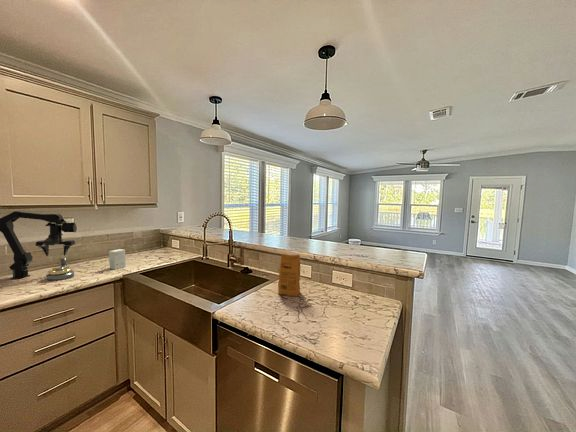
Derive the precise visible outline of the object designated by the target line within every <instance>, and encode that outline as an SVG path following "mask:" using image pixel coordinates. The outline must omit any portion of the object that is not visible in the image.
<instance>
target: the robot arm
mask: <svg viewBox="0 0 576 432" xmlns="http://www.w3.org/2000/svg"><path fill="white" fill-rule="evenodd" d="M20 218H21V219H31V220H40V221H44V222H47V224H44V225H45V227H49V234H48V235H47V236H48V237H47V238H45V239H43V240H37V241H35V245H34V246H35V247H37V248H40V249H41V250H42V251H43V253H44V254H45V255H46V257H48V256H49V253H50V250H49V249H50V248H49V247H50V246H55V245H63V247H62V248H63V256H66V255H67V253H68V251H69V249H70V248H71V247H72V246H73V245H76V241H75V240H74V239H67V240H65V241H64V239H63V238H62V237H63V233H76V232H77V224H76V222H67V221H66V220H65V219H64V217H63V215H62V214H61V213H38V212H27V211H21V210H17V211H16V210H15V211H13V212H10V213H9V214H6V215H4V216H2V217H0V232H1V233H2V236H3V237H4V238H5V241H6V242H7V244H8V245H9V247H10V249H11V251H12V253H13V262H14V263H12V264H11V265H10V266H9V269H10V271H12V276H11V277H10V279H11V280H12V279H14V280H17V279H18V280H20V279H23V278H27V277H30V276H31V274H29V269H28V266H29V265H30V264H31V263H32V262H33V260H34V259H33V258H34V257H33V255H32V253H31V252H30V251H28V252H27V251H25V249H24V247H23V246H22V244H21V242H20V241H19V238H18V236H17V235H16V233H15V231H14V226H15V225H14V222H17V220H18V219H20Z"/></svg>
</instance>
